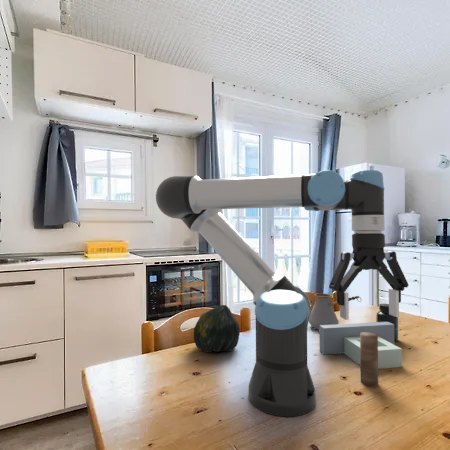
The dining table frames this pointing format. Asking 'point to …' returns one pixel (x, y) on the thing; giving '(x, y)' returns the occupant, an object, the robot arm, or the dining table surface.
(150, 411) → the dining table surface
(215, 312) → the squash
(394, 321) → the supplement bottle
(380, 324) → the wall
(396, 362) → the socket block
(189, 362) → the dining table surface
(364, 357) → the dowel
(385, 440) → the dining table surface
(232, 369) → the dining table surface
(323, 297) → the coffee pot
